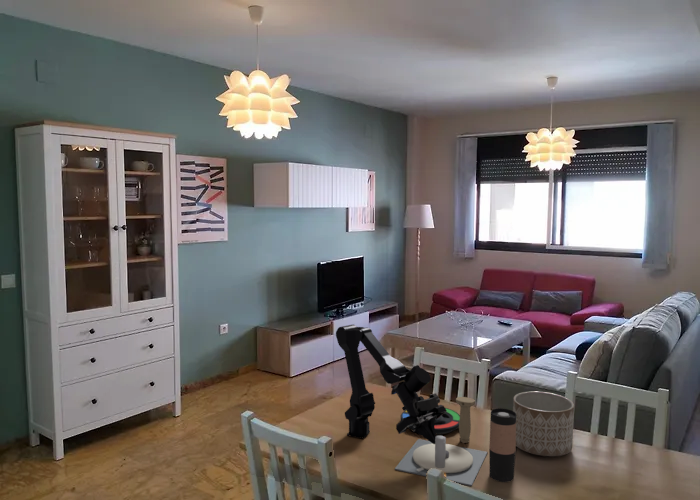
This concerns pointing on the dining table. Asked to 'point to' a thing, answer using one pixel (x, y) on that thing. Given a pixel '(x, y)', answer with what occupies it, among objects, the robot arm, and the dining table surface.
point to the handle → (465, 418)
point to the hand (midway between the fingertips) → (435, 443)
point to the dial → (443, 456)
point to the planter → (544, 423)
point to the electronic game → (442, 422)
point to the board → (459, 477)
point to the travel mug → (502, 444)
